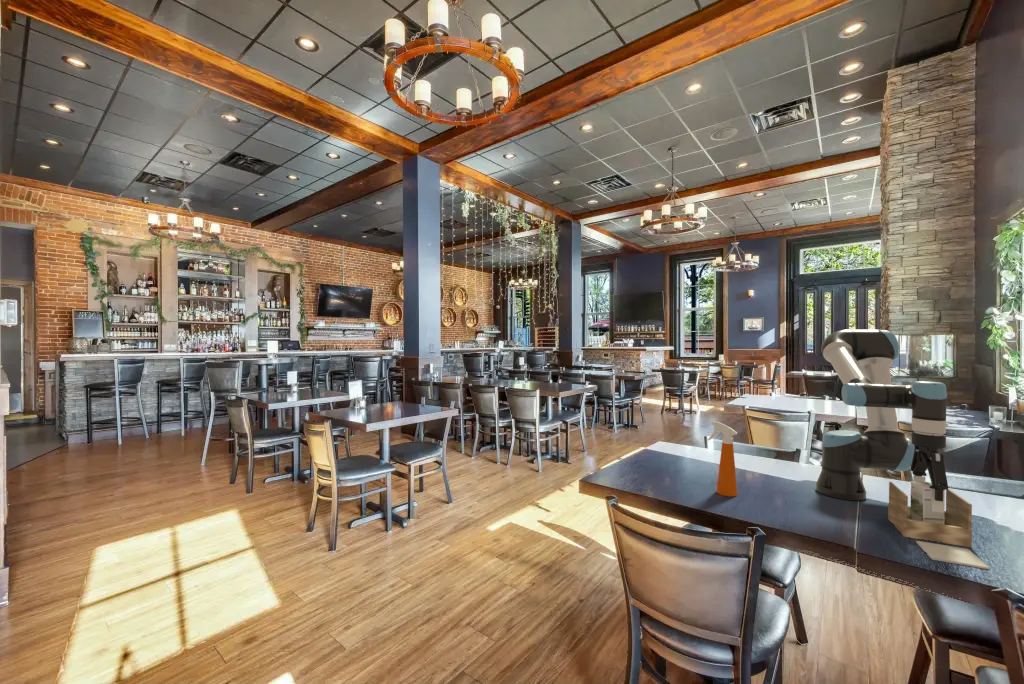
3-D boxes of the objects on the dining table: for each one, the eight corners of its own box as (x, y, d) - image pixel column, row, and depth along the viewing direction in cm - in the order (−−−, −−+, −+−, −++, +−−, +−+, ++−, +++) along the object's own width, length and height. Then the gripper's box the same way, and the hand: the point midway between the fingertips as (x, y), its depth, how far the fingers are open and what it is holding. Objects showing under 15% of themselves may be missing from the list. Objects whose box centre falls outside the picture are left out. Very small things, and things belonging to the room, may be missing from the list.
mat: (931, 559, 116) (931, 557, 116) (916, 542, 126) (916, 540, 126) (989, 569, 111) (989, 567, 111) (968, 550, 121) (968, 549, 121)
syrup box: (945, 537, 130) (946, 487, 130) (922, 535, 131) (923, 486, 131) (931, 529, 135) (932, 481, 135) (909, 527, 136) (909, 480, 136)
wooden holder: (904, 536, 130) (904, 495, 130) (888, 518, 143) (888, 481, 143) (971, 547, 123) (972, 504, 123) (948, 527, 136) (949, 488, 136)
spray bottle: (709, 486, 172) (710, 419, 172) (739, 493, 165) (740, 422, 165) (703, 491, 167) (704, 421, 166) (734, 498, 160) (735, 425, 160)
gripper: (965, 442, 120) (964, 520, 120) (928, 427, 142) (927, 493, 142) (928, 439, 123) (927, 515, 123) (898, 425, 146) (897, 489, 146)
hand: (927, 504), depth 133 cm, fingers open, 13 cm apart
